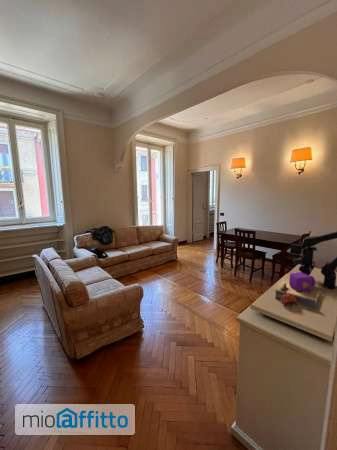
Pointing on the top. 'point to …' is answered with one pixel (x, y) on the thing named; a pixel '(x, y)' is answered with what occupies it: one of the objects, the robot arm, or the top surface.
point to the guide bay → (299, 298)
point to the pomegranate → (288, 299)
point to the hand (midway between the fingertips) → (306, 277)
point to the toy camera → (301, 281)
